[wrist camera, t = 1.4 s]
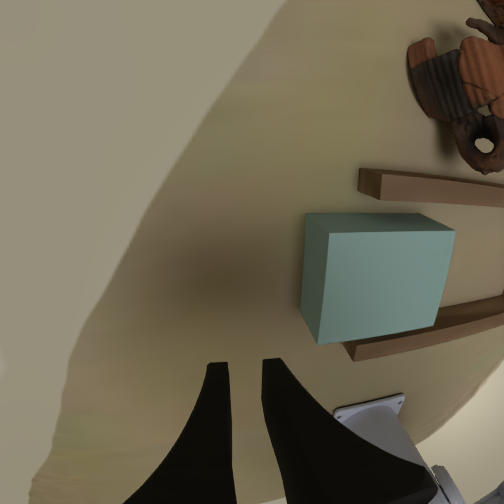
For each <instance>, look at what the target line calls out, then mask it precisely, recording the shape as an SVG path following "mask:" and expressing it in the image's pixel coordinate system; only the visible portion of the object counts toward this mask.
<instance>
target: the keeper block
mask: <svg viewBox="0 0 504 504" xmlns="http://www.w3.org/2000/svg"><path fill="white" fill-rule="evenodd" d="M455 234H456V231H455V230H453V229H451V228H449V227H447V226H445V225H443V224H441V223H439V222H437V221H435V220H433V219H431V218H428V217H426V216H424V215H422V214H418V213H306V225H305V243H304V259H303V274H302V288H301V301H300V311H301V313H302V315H303V317H304V319H305V321H306V323H307V325H308V327H309V329H310V331H311V333H312V335H313V337H314V339H315V341H316V343H317V345H321V344H329V343H336V342H344V341H351V340H357V339H364V338H370V337H376V336H382V335H388V334H393V333H399V332H404V331H409V330H414V329H419V328H424V327H429V326H433V325H434V322H435V319H436V315H437V312H438V308H439V305H440V301H441V297H442V294H443V290H444V286H445V282H446V278H447V273H448V269H449V264H450V260H451V255H452V250H453V245H454V240H455Z"/></svg>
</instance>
